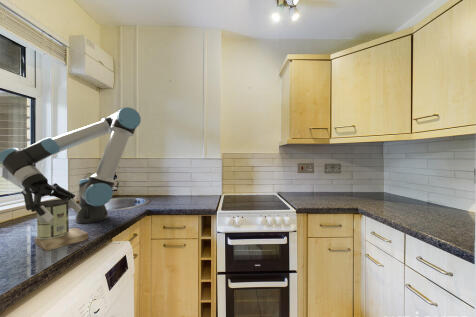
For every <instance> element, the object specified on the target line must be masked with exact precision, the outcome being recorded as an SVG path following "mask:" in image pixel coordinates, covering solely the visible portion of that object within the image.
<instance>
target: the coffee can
mask: <svg viewBox="0 0 476 317" xmlns="http://www.w3.org/2000/svg"><path fill="white" fill-rule="evenodd" d="M68 202H69V200H66V199H60V198H58V199H50V200H44V201H41V203H40V206H42V205H43V206H44V207H45V208H46V209H47V210H48V211H49V212H50V213H51V214H52V215H53V216H54V218H53V219H52V220H51V221H50V222H47V221H46V220H45V219H44V218H43V217H42V216H40V215H39V214H38V213H37V212H36V228H37V230H36V235H37V236H36V237H37V239H40V240H46V239H53V238H58V237H61V236H64V235H66V234H68V233H69V229H70V226H69V224H70V223H69V222H70V220H69V205H68Z"/></svg>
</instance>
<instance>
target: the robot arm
mask: <svg viewBox="0 0 476 317" xmlns="http://www.w3.org/2000/svg"><path fill="white" fill-rule="evenodd" d="M141 121H142V119H141V116H140V113H139V112H138V111H137V110H136V109H134V108H133V107H129V106H126V107H121V108H119V110H117V111H115V112H113V113H112V114H111V115H109V116H107V117H103V118H101V120H100V121H98V122H95V123H92V124H89V125H87V126H83V127H80V128H78V129H74V130H72V131H68V132H65V133H63V134H60V135H58V136H55V137H51V136H50V137H49V136H46V137H45V138H43V139H40V140H39V141H37V142H34V143H33V144H31V145H28V146H27V147H25V148H21V149H19V148H18V147H11V148H6V149H4V150H2V151H0V163H1V165H2V166H3V167H4V168H5V170H7V171H8V172H9V173H10V174H11V175H12V176H13V177H14V178H15V179H16V180H17V182H19V183H20V185H21V186H22V187H23V189H22V190H21V192H20V194H22V196H23V199H24V205H25V210H27V211H31V212H32V213H36V214H37V213H38V214H39V215H40V216H42V217H43V218H44V219H45V220H46V221H47V222H50V221H51V220H52V219H53V218H54V216H53V215H52V214H51V213H50V212H49V211H48V210H47V209H46V208H45V207H44V206H43V205H42V206H40V203H41V202H42V198H44V197H55V198H57V199H66V200H69V202H68V207H70V208H71V210H73V211H74V212H75V213H76V216H75V223H77V224H92V223H98V222H102V221H104V220H105V221H106V220H107V219H109V212H108V210H107V207H106V204H107V203H109V202H110V201H111V200H112V198H113V194H114V192H113V189H114V186H115V183H116V182H115V180H114V177H115V174H116V172H117V169H118V167H119V164H120V161H121V159H122V157H123V154H124V151H125V149H126V147H127V146H126V145H127V144H128V141H129V138H130V137H133V136H134V133H135V131H136V129H137V128H138V127H139V126H140V124H141ZM108 134H109V135H110V136H109V138H108V141H107V143H106V146H105V148H104V150H103V153H102V155H101V157H100V161H99V163H98V165H97V168H96V169H95V170H96V171H95V173H94V174H92V175H90V176H89V178H83V179H80V180H79V181H78V182H79V184H78V187H79V188H78V190H79V197H78V198H79V204H78V202H77V201H76V200H75V199H74V198H76V195H75V194H73V193H72V192H70V191H69V190H66V189H65V188H64V187H61V186H60V185H59V184H58V183H56V182H55V183H53V184H52V185H51V184H49V182H48V178H46V176H45V175H44V174H43V173H42V172H41V171H40V170H39V169H38V168H37V167H36V166H35V164H38V163H39V162H41V161H43V160H45V159H47V158H49V157H51V156H52V155H53V156H54V155H56V154H58V153H61V152H63V151H66V150H68V149H71V148H74V147H76V146H79V145H82V144H83V143H86V142H89V141H92V140H94V139H97V138H100V137H102V136H105V135H108Z"/></svg>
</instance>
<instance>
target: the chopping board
mask: <svg viewBox="0 0 476 317" xmlns="http://www.w3.org/2000/svg"><path fill="white" fill-rule="evenodd" d="M86 239H87V240H89V233H88V232H87V231H83V230H81V229H80V228H77V227H73V228H69V233H68V234H66V235H64V236H61V237H58V238H53V239H46V240H40V239H37V236H36V237H35V239H34V244H35V245H37V246H38V247H40V248H41V249H42V250H43V251H45V252H47V251H48V252H49V251H51V250H55V249H58V248H62V247H65V246H69V245H73V244H75V243H80V242H83V241H87V240H86Z"/></svg>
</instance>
